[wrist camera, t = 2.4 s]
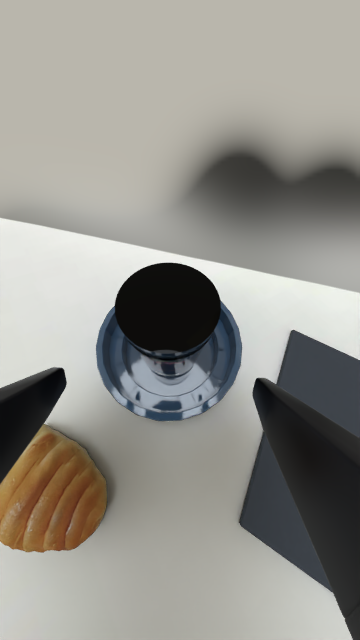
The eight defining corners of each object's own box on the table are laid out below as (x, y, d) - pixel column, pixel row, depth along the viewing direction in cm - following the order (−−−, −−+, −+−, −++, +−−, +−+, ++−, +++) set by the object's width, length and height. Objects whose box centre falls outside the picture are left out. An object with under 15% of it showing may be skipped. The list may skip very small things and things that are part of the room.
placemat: (448, 673, 11) (460, 685, 11) (238, 522, 14) (241, 526, 14) (420, 391, 19) (426, 391, 19) (290, 331, 22) (293, 329, 22)
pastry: (127, 461, 15) (114, 478, 12) (84, 566, 13) (50, 628, 9) (44, 418, 17) (11, 423, 13) (-13, 505, 14) (-74, 541, 10)
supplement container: (196, 322, 22) (214, 262, 12) (201, 377, 19) (229, 353, 9) (144, 323, 21) (121, 262, 12) (140, 378, 18) (105, 355, 9)
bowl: (196, 446, 16) (204, 460, 12) (84, 372, 19) (62, 365, 15) (245, 329, 22) (260, 314, 18) (153, 285, 24) (150, 264, 21)
